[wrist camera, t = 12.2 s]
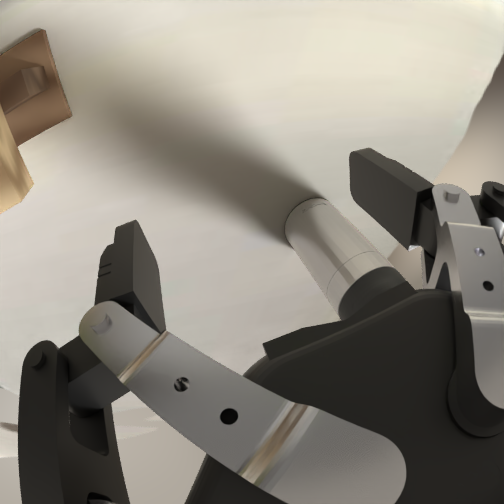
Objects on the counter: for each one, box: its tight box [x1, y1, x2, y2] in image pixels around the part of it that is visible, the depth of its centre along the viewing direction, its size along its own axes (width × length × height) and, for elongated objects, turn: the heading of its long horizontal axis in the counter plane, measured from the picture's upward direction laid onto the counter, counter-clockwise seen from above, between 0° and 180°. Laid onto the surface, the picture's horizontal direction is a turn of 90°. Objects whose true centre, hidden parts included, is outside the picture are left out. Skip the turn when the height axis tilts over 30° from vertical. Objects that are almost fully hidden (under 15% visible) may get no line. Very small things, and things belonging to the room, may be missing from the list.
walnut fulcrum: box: [0, 30, 72, 146], centre depth 21 cm, size 12×12×8 cm
